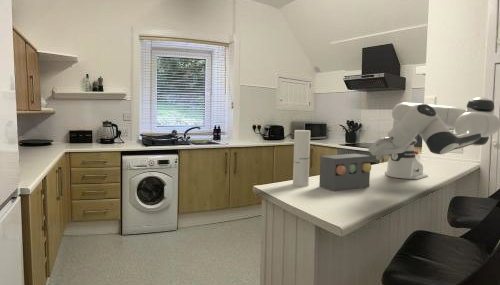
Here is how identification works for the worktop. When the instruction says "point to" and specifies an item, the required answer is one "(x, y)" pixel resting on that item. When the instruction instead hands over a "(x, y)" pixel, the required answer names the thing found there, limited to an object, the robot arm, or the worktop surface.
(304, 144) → the cylindrical container
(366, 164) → the ochre button
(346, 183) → the control panel
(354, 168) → the sage green button
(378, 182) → the worktop surface
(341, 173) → the terracotta button
